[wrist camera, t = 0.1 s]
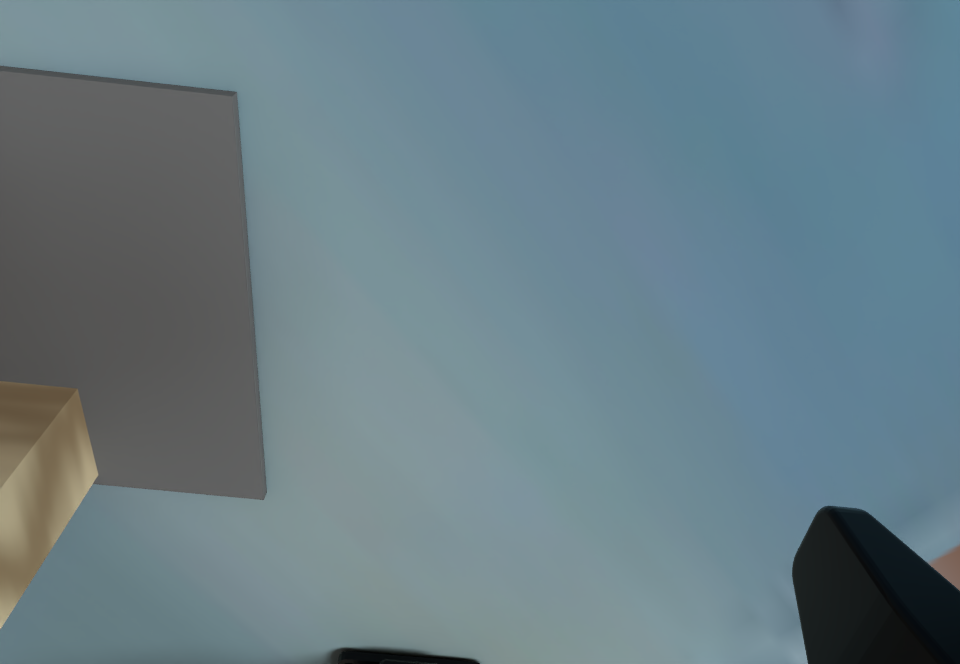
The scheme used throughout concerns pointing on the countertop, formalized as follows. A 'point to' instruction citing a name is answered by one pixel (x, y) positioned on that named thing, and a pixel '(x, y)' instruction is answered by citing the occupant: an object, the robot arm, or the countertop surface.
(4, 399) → the maple block
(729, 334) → the countertop surface
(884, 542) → the robot arm
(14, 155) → the mat
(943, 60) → the countertop surface
